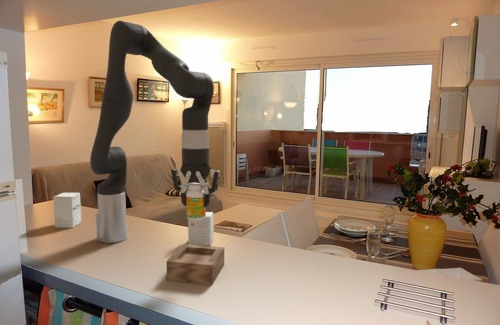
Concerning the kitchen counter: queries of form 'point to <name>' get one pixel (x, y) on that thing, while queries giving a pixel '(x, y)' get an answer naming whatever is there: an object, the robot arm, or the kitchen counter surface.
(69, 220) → the supplement box
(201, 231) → the small box
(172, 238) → the kitchen counter surface
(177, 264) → the walnut tray
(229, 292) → the kitchen counter surface
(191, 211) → the supplement bottle
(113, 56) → the robot arm
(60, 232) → the kitchen counter surface
